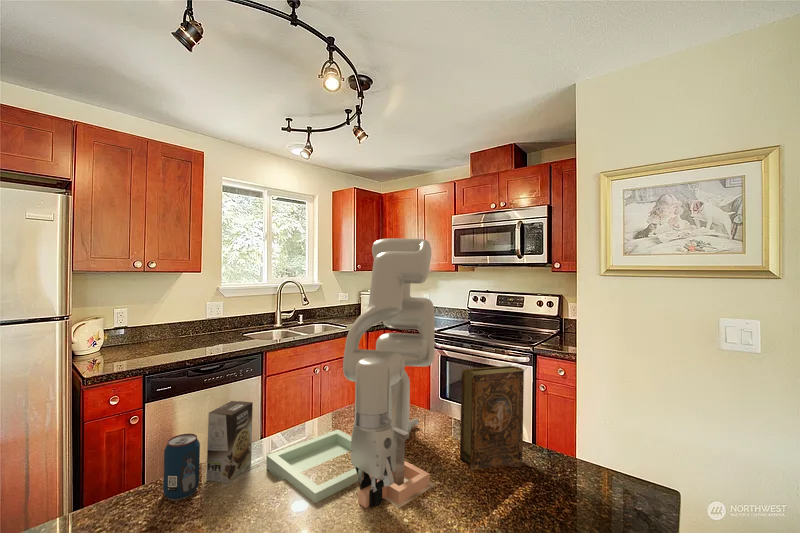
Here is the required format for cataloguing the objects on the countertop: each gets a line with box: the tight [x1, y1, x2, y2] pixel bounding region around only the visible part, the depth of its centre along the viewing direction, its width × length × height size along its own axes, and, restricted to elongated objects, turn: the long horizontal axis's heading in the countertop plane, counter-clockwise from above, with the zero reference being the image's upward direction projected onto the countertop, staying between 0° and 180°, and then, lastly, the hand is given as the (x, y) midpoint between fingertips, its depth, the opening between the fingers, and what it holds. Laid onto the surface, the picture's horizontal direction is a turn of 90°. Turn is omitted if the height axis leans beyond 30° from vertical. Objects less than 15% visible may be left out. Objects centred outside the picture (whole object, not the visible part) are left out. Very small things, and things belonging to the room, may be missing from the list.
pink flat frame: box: [357, 460, 431, 509], centre depth 83 cm, size 16×10×2 cm, turn 136°
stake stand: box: [383, 427, 436, 509], centre depth 85 cm, size 12×12×14 cm
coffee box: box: [206, 400, 254, 484], centre depth 92 cm, size 9×6×16 cm
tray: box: [265, 429, 359, 504], centre depth 93 cm, size 22×22×4 cm
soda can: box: [162, 433, 201, 501], centre depth 83 cm, size 7×7×12 cm
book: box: [459, 365, 525, 471], centre depth 97 cm, size 16×6×25 cm, turn 109°
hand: (370, 502), depth 79 cm, fingers closed on pink flat frame, 2 cm apart
